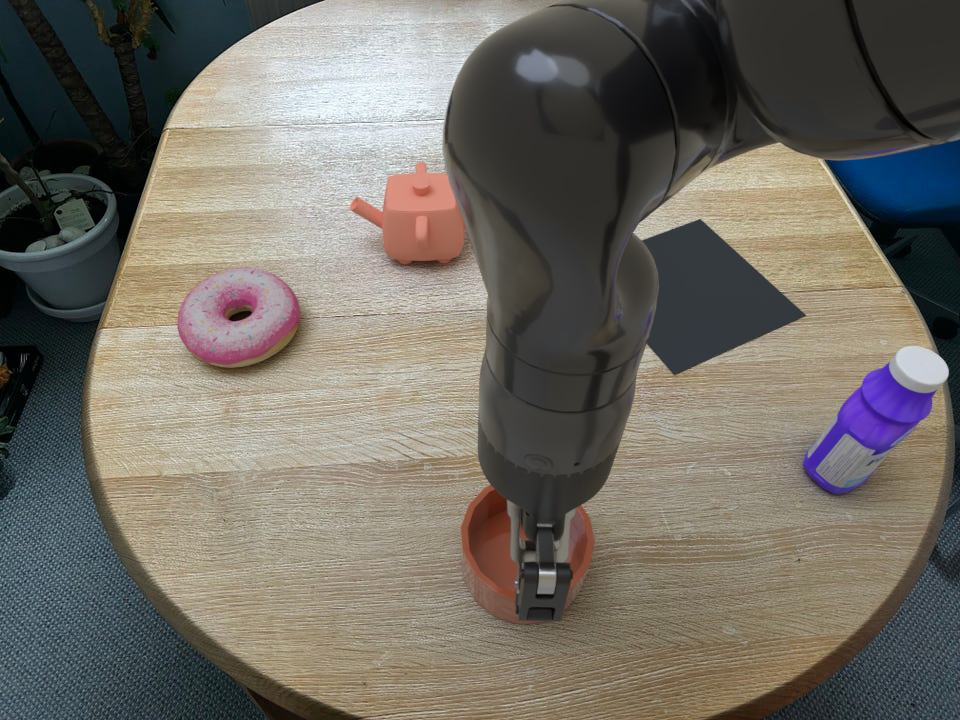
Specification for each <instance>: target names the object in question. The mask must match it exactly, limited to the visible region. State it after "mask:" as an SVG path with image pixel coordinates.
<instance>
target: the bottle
mask: <svg viewBox="0 0 960 720" xmlns="http://www.w3.org/2000/svg"><path fill="white" fill-rule="evenodd" d="M949 372H950V370H949V366H948V365H947V363H946V361H945V360H944V359H943V358H942V357H941V356H940V355H939V354H937V353H936V352H934V351H933V350H931V349H930V348H929V349H928V348H926V347H923V346H920V345H919V346H918V345H907V346H904V347H901V348H900V349H899V350H898V351H897V352H896V354H895V355H894V356H893V357H892V358H891V359H890V361H888V362H887V363H886V364H885V365H884V366H883V367H881V368H877V369H874V370H871V371H869V372H867V374H866V375H865V376H864V378H863V380H862V383H861V385H860V386H859V387H858V388H857V389H856V390H854V392H853V393H852V394H850V395H849V396H848V397H847V399H846V400H845V401H844V402H843V403H842V405H841V406H840V408H839V410H838V412H836V414H835V416H834V417H832V420H830V422H829V423H828V424H827V426H826V427H825V428H824V429H823V430H822V432H821V433H820V434H819V436H817V438H816V439H815V440H814V442H813V443H812V444H811V445H810V446H809V448H808V449H807V450H806V452H805V456H804V457H803V463H802V464H803V465H802V466H803V469H804V470H805V472H806V473H807V475H808V477H810V479H811V480H813V482H815V483H816V484H817V485H818V486H819V487H821V488H822V489H823V490H825V491H827V492H828V493H831V494H833V495H838V494H839V495H840V494H846V493H848V492H851V491H853V490H854V489H857V488H858V487H860V486H861V485H863V484H865V482H866V481H867V480H868V479H869V478H870V477H871V476H872V475H873V473H874V472H875V470H876V469H877V468H878V467H879V466H880V464H881V463H882V462H884V460H885V459H886V458H887V457H888V456H889V455H890V454H891V453H892V451H893V450H894V449H895V448H896V447H897V446H898V445H899V444H900V443H901V442H902V441H904V440H905V439H906V438H908V437H909V436H910V435H911V434H912V433H913V431H914V430H916V429H917V427H918V426H919V423H920V422H921V421H923V420H925V419H926V418H928V416H929V415H930V414H931V413H932V409H933V398H934V396H935V394H936V392H937V391H938V390H939V389H940V388H941V387H942V385H943V384H944V383H945V382H946V381H947V380H948V378H949V374H950V373H949Z"/></svg>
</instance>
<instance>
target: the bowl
mask: <svg viewBox="0 0 960 720" xmlns="http://www.w3.org/2000/svg"><path fill="white" fill-rule="evenodd" d="M520 538H521V539H522V540H527V541H530V540H529V539H527V538H526V536H525V534H524V531H523V528H522V525H521V522H520ZM595 543H596V541H595V536H594V531H593V527H592V522H591V518H590V516H589V514H588V513H587V511H586V510H585V508H584V507H583V504H582V505H580V506H578V507H577V508H576V511H575V516H574V517H573V518H572V519H571V522H570V539H569V556H568V559H567V561H565V562H564V563H570V568H571V570H572V571H573V579H572V580H571V584H570V588H569V592H568V596H567V599H566V603H565V607H564V610H563V612H564V611H565V610H567V608H568V607H569V606H570V605H571V604H572V603H573V602H574V600H575V599H576V597H577V595H578V594H579V593H580V592H581V590H582V587H583V586H584V585H583V584H584V582H585V579H586V577H587V574H588V571H589V569H590V566H591V562H592V557H593V552H594V548H595ZM460 558H461V570H462V577H463V579H464V583H465V586H466V587H467V590H468V591H469V593H470V595H471V596H472V597H473V599H474V600H475V601H476V603H477V604H478V605H479V606H480V607H481V608H482V609H484V611H486V612H487V613H489V614H490V615H492V616H494V617H495V618H496V619H500V620H501V621H505V622H508V623H512V624H516V625H517V624H518V625H534V624H535V625H536V624H540V623H544V622H545V621H527V620H526V621H518V614H516V605H515V590H516V588H515V587H514V580H515V579H517V563H516V562H514V561H513V560H512V559H511V556H510V517H509V515H508V511H507V499H505V498H504V497H503V496H502V495H500V494H499V493H498V492H497V491H496V490H495V489H494V488H493V487H492V486H491V484H489V485H486V486H485V487H483V489H481V491H480V492H479V493H478V494H477V495H476V496H475V498H474V499H472V501H471V502H470V503H469V504H468V506H467V509H466V512H465V515H464V518H463V520H462V523H461V526H460Z"/></svg>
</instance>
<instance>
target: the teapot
mask: <svg viewBox="0 0 960 720" xmlns="http://www.w3.org/2000/svg"><path fill="white" fill-rule="evenodd" d="M414 167H415V168H414V169H415V171H414V172H409V173H407V172H406V173H399V174H398V173H397V174H392V175H390V176H388V178H387V180H386V184H385V189H384V190H385V192H384V198H383V203H382V204H383V205H382V210H380V209H378V208H377V207H375V206H373V205H372V204H370V203H368V202H367V201H365V200H364V199H362V198H361V197H359V196H356V197H354V199H353V200H352V202H351V203H350V205H349V211H351V212H352V213H354V214H355V215H358V216H359V217H361V218H363V219H365V220H366V221H367V222H370V223H371V224H373V225H374V226H376V227H378V228H380V229H381V230H382V245H383V249H384V251H385V254H386V255H387V257H388V258H389V259H392V260H396V261H397V262H398V263H399V264H401V265H410V264H411V263H412V262H430V261H431V262H432V261H437V262H438V263H440V264H447V263H450V262H451V260H452V259H454V258H458V257H459V256H460V255H461V253H462V251H463V248H464V243H465V230H467V229H466V227H465V224H464V221H463V218H462V216H461V213H460V211H459V208H458V205H457V203H456V200H455V197H454V195H453V192H452V189H451V186H450V183H449V180H448V176H447V173H444V172H428V170H427V169H428V167H427V164H426V163H425V162H424V161H418V162H416V163H415V166H414Z"/></svg>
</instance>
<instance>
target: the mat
mask: <svg viewBox="0 0 960 720" xmlns="http://www.w3.org/2000/svg"><path fill="white" fill-rule="evenodd" d="M642 242H643V243H644V244H645V245H646V246H647V248H648V250H649V252H650V253H651V255H652V257H653V259H654V262H655V265H656V268H657V272H658V280H659V295H658V301H657V307H656V313H655V318H654V322H653V325H652V328H651V331H650V334H649V338H648V341H647V344H646V345H647V346H649V348H650V349H651V350H652V351H653V352H654V354H655V355H656V356H657V357H658V358H659V359H660V361H661V362H662V363H663V364H664V365H665V366H666V367H667V369H669V371H670V372H671V373H672V374H673V375H674V376H676V375H677V374H680V373H682V372H685V371H686V370H688V369H691V368H693V367H696V366H697V365H699V364H701V363H704V362H707V361H709V360H711V359H713V358H715V357H717V356H719V355H722V354H724V353H726V352H729V351H731V350H732V349H735V348H737V347H740V346H742V345H744V344H746V343H749V342H751V341H753V340H755V339H757V338H759V337H762V336H764V335H766V334H768V333H771V332H773V331H775V330H777V329H780V328H782V327H784V326H786V325H788V324H791V323H792V322H796V321H797V320H800V319H802V318H804V317H806V316H807V315H806V313H804V312H803V311H802V310H801V309H800V308H799V307H798V306H797V305H796V304H795V303H793V302H792V301H791V300H790V299H789V298H788V297H787V296H786V295H785V294H784V293H782V292H781V291H780V290H779V289H778V287H776V286H775V285H774V284H772V282H771V281H769V280H768V279H767V278H766V277H765V276H764V275H763V274H761V273H760V272H759V271H758V269H756V268H755V267H754V266H753V265H752V264H751V263H750V262H748V261H747V260H746V259H745V258H744V257H743V256H742V255H741V254H740V253H739V252H738V251H736V250H735V249H734V248H733V247H732V246H731V245H730V244H729V243H728V242H726V241H725V240H724V239H723V238H722V237H721V236H720V235H719V234H718V233H717V232H716V231H714V230H713V228H711V227H710V226H709V225H708V224H707V223H706V222H704V221H703V220H702V219H701V218H700V219H696V220H694V221H691V222H687V223H685V224H682V225H679V226H677V227H674V228H672V229H668V230H666V231H663V232H660V233H658V234H655V235H652V236H650V237H647V238H644V239H642Z"/></svg>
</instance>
